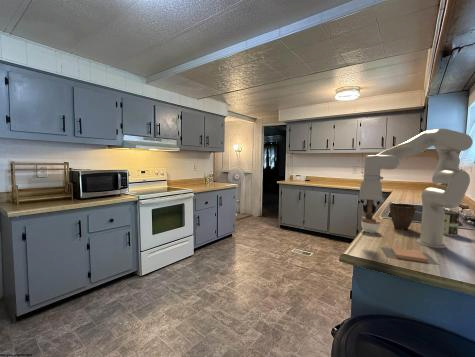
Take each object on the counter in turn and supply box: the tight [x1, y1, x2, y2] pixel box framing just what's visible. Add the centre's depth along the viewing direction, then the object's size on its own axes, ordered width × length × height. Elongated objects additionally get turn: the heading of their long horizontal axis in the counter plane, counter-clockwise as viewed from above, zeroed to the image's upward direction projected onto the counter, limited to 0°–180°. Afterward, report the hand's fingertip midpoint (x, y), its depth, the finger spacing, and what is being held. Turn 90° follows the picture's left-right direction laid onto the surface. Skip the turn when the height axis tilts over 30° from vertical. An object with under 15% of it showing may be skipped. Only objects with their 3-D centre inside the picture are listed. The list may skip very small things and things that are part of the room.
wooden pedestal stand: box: [361, 200, 377, 223], centre depth 126 cm, size 6×6×14 cm
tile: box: [390, 246, 428, 263], centre depth 112 cm, size 2×12×10 cm
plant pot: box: [389, 203, 417, 230], centre depth 160 cm, size 15×15×16 cm
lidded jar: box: [360, 218, 381, 234], centre depth 151 cm, size 11×11×9 cm
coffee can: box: [443, 209, 461, 237], centre depth 151 cm, size 10×10×14 cm
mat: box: [380, 246, 440, 266], centre depth 113 cm, size 14×20×1 cm
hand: (369, 212), depth 126 cm, fingers closed on wooden pedestal stand, 3 cm apart
